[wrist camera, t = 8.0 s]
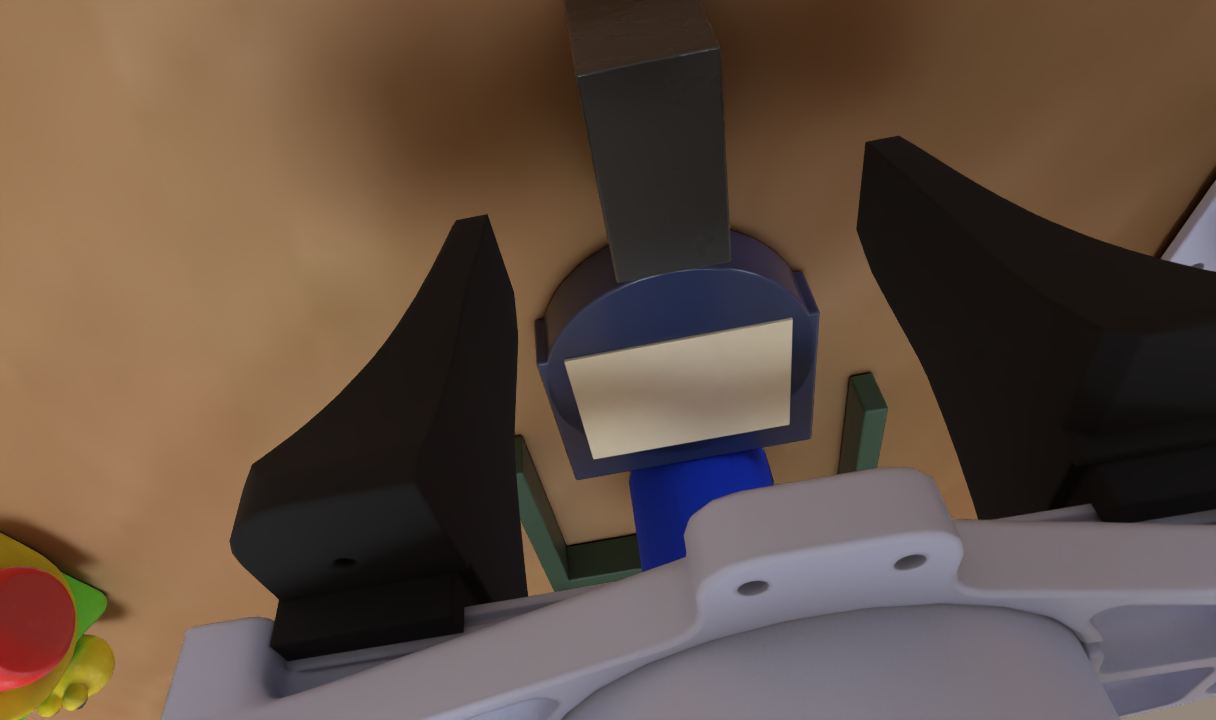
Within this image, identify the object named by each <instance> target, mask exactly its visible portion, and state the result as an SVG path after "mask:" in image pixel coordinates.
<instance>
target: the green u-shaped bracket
mask: <svg viewBox="0 0 1216 720" xmlns="http://www.w3.org/2000/svg"><path fill="white" fill-rule="evenodd" d="M887 411H888V407H887V405H886V403H885V400H884V398H883V396H882V394H881V392H880V389H879V387H878V385H877V383H876V381H875V378H874V376H873V374H865V375H859V376H854V377H851V378H850V383H849V391H848V400H847V408H846V416H845V425H844V433H843V441H842V450H841V458H840V466H839V474H844V473H849V472H855V471H861V470H867V469H873V468H877V465H878V459H879V454H880V449H881V443H882V438H883V432H884V427H885V422H886V416H887ZM515 460H516V474H517V488H518V500H519V512H520V520H521V522H522V524H523V526H524V528H525V531H526V533H527V535H528V537H529V539H530V541H531V543H532V545H533V548H534V550H535V552H536V554H537V556H538V558H539V560H540V562H541V565H542V567H543V569H544V571H545V573H546V575H547V577H548V579H549V581H550V584H551V586H552V588H553V590H554V592H558V591H564V590H570V589H575V588H581V587H587V586H593V585H599V584H604V583H610V582H616V581H619V580H622V579H625V578H627V577H630V576H633V575H636V574H639V573H642V567H641V560H640V553H639V546H638V540H637V535H634V536H628V537H622V538H617V539H611V540H605V541H599V542H593V543H588V544H582V545H576V546H570V547H566V544H565V542H564V540H563V537H562V535H561V532H560V530H559V527H558V525H557V522H556V520H555V517H554V515H553V512H552V510H551V507H550V505H549V502H548V500H547V498H546V495H545V493H544V490H543V488H542V485H541V483H540V480H539V478H538V475H537V473H536V470H535V468H534V465H533V463H532V460H531V458H530V456H529V453H528V451H527V448H526V446H525V443H524V441H523V438H522V437H521V436H518V437H515Z"/></svg>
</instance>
